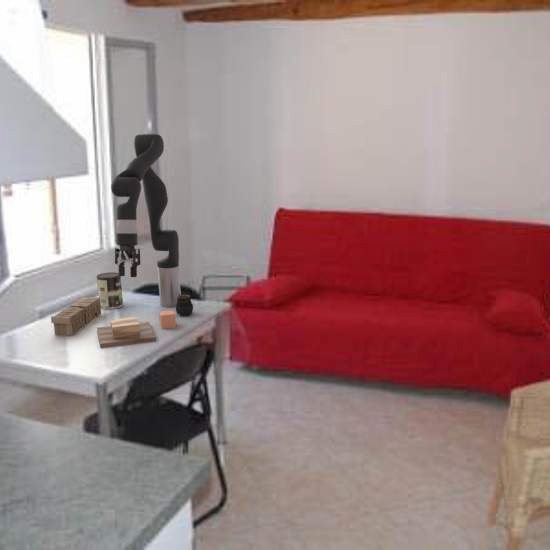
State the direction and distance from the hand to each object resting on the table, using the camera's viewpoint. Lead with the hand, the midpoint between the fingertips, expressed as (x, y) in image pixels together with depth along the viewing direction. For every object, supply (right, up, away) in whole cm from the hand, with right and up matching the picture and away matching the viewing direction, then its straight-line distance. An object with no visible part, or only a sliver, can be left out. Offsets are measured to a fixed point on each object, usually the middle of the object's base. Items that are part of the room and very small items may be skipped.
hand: (127, 276), depth 241 cm
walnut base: (-3, -23, +9) cm, 24 cm away
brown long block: (-25, -20, +24) cm, 40 cm away
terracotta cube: (+12, -20, +19) cm, 30 cm away
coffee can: (-18, -13, +49) cm, 54 cm away
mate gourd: (+16, -16, +33) cm, 41 cm away
